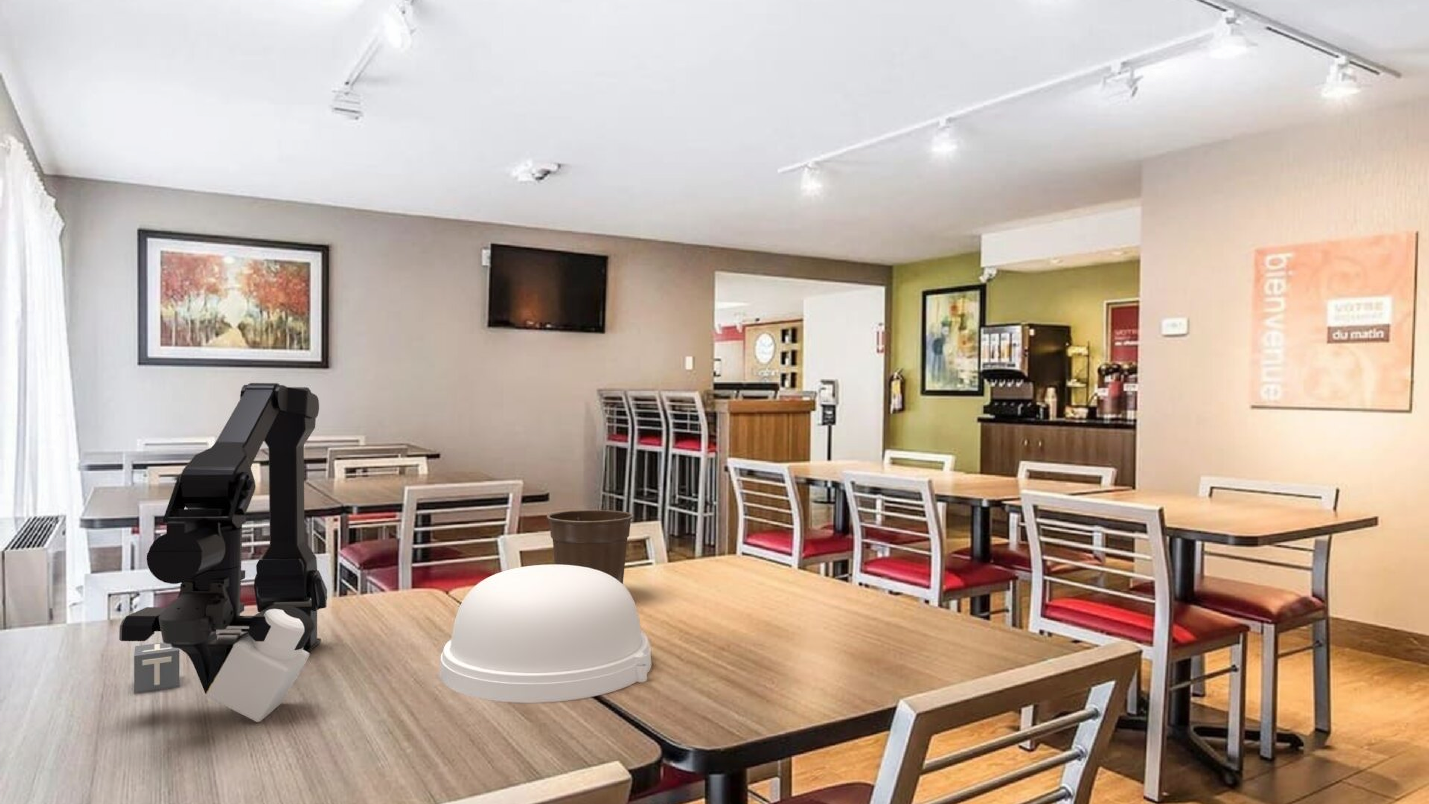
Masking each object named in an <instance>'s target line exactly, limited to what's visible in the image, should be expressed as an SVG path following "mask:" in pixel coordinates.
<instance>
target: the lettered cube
mask: <svg viewBox="0 0 1429 804" xmlns="http://www.w3.org/2000/svg"><path fill="white" fill-rule="evenodd" d="M176 688H180V649H179V648H173V647H172V646H171V644H166V643H164V642H160V643H159V642H158V643H149V644H141V645H135V646H134V654H133V694H134V695H137V694H142V693H150V692H155V691H164V690H168V689H176Z"/></svg>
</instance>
